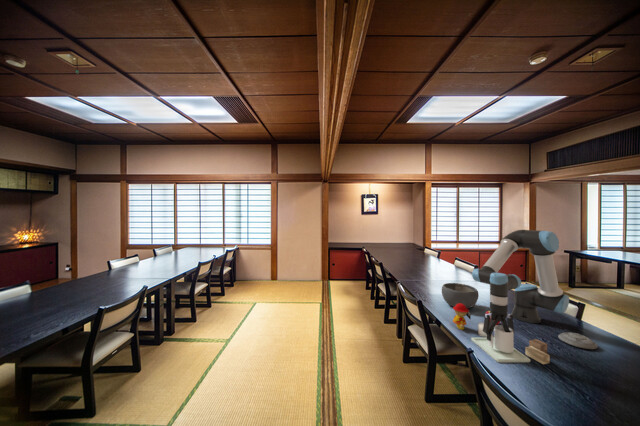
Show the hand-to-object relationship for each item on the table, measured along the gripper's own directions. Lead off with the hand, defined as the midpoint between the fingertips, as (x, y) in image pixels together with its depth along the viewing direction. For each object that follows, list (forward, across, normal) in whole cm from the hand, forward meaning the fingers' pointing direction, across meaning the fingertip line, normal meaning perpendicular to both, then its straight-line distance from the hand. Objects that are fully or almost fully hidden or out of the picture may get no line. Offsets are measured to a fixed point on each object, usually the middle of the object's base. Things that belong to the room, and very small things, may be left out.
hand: (498, 346), depth 126 cm
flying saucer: (+3, -49, -7) cm, 49 cm away
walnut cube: (+2, -20, +1) cm, 20 cm away
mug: (+1, 0, 0) cm, 1 cm away
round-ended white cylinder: (+2, -3, -16) cm, 16 cm away
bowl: (+2, -14, -59) cm, 61 cm away
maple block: (+2, -14, +7) cm, 16 cm away
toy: (+2, +5, -25) cm, 26 cm away
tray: (+2, 0, 0) cm, 2 cm away
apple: (+2, -19, -30) cm, 36 cm away
